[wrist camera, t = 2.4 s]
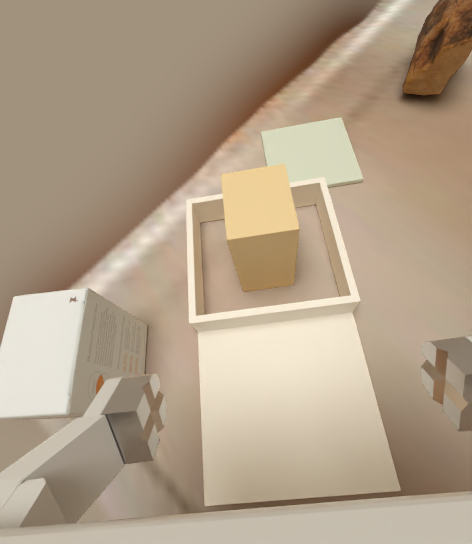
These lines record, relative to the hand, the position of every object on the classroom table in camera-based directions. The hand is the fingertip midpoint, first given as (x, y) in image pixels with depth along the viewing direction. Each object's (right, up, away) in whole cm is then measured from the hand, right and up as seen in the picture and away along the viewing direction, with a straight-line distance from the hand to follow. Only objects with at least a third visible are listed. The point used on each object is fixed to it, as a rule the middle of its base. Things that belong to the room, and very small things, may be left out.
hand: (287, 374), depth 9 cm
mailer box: (+2, -2, +19) cm, 19 cm away
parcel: (+1, +4, +22) cm, 22 cm away
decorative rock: (+23, +27, +29) cm, 46 cm away
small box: (-13, -6, +19) cm, 24 cm away
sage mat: (+7, +17, +26) cm, 32 cm away
